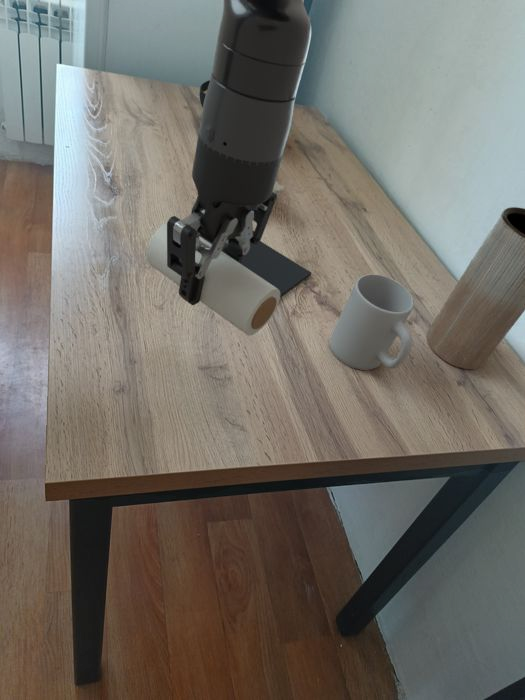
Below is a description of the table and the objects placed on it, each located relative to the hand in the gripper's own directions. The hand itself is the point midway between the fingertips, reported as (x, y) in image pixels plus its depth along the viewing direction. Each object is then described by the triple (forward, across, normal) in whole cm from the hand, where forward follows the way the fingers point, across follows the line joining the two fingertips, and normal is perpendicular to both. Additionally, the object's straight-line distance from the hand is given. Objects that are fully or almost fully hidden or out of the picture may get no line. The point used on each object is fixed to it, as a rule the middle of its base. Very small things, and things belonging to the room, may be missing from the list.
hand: (208, 288), depth 58 cm
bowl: (+15, +64, +46) cm, 80 cm away
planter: (+15, +38, -23) cm, 47 cm away
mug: (+15, +23, -14) cm, 30 cm away
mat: (+15, +24, +12) cm, 31 cm away
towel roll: (+1, 0, 0) cm, 1 cm away
